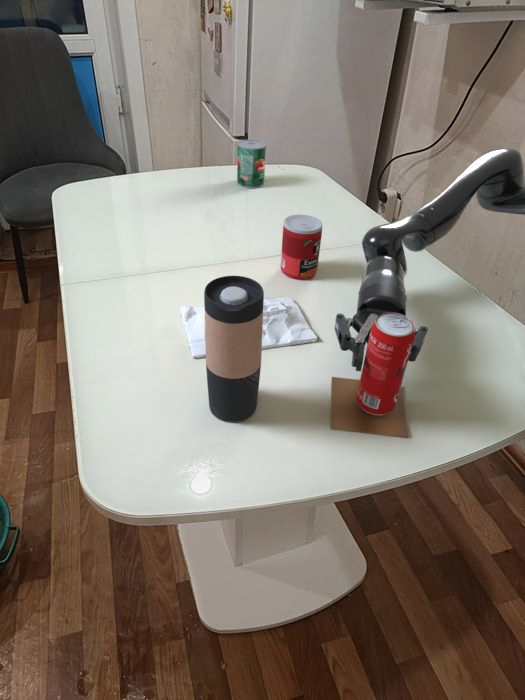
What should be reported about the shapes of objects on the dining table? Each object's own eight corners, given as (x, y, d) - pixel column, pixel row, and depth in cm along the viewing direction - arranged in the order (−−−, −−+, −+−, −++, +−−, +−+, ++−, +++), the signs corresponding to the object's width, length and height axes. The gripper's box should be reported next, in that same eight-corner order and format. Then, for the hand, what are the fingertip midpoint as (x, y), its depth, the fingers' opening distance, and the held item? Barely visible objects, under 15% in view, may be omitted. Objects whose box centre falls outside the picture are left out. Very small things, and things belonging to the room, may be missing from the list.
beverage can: (394, 420, 74) (425, 342, 64) (349, 412, 74) (374, 333, 64) (393, 391, 78) (422, 314, 68) (351, 384, 79) (374, 306, 69)
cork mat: (401, 386, 81) (401, 384, 81) (408, 438, 72) (408, 436, 72) (331, 378, 82) (331, 376, 81) (330, 429, 73) (330, 427, 73)
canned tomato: (266, 188, 144) (267, 148, 137) (238, 188, 143) (238, 148, 136) (262, 178, 150) (263, 139, 144) (235, 178, 149) (236, 139, 143)
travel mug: (236, 381, 80) (238, 268, 68) (269, 407, 76) (277, 293, 63) (197, 402, 76) (190, 287, 64) (229, 432, 72) (229, 314, 59)
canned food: (304, 284, 104) (309, 234, 97) (272, 271, 108) (275, 222, 101) (324, 270, 109) (330, 221, 102) (293, 258, 112) (297, 210, 106)
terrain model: (172, 319, 94) (168, 296, 91) (284, 292, 101) (285, 270, 98) (198, 373, 82) (196, 349, 79) (324, 339, 89) (326, 315, 86)
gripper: (421, 327, 83) (425, 398, 70) (334, 314, 85) (322, 381, 72) (433, 288, 79) (439, 357, 65) (340, 275, 81) (328, 339, 67)
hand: (377, 369), depth 69 cm, fingers closed on beverage can, 4 cm apart
